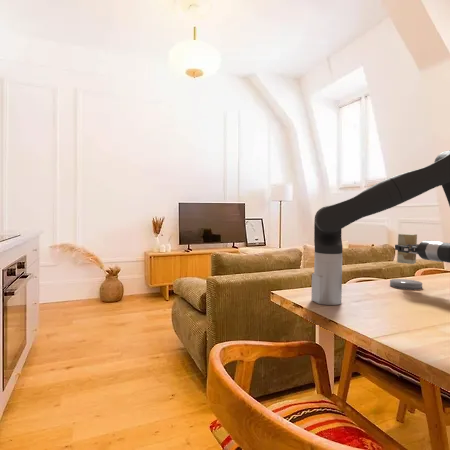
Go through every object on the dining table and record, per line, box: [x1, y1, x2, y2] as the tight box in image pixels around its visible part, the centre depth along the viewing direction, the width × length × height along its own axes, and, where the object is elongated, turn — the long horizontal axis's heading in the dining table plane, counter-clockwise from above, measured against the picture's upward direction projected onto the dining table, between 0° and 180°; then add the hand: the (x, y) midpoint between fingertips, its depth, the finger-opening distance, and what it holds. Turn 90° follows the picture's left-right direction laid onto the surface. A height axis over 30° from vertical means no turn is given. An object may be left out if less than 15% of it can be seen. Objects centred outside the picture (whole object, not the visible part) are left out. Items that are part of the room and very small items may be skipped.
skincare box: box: [396, 233, 418, 265], centre depth 142 cm, size 6×4×12 cm
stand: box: [389, 278, 423, 291], centre depth 143 cm, size 12×12×2 cm
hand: (403, 246), depth 145 cm, fingers closed on skincare box, 6 cm apart
